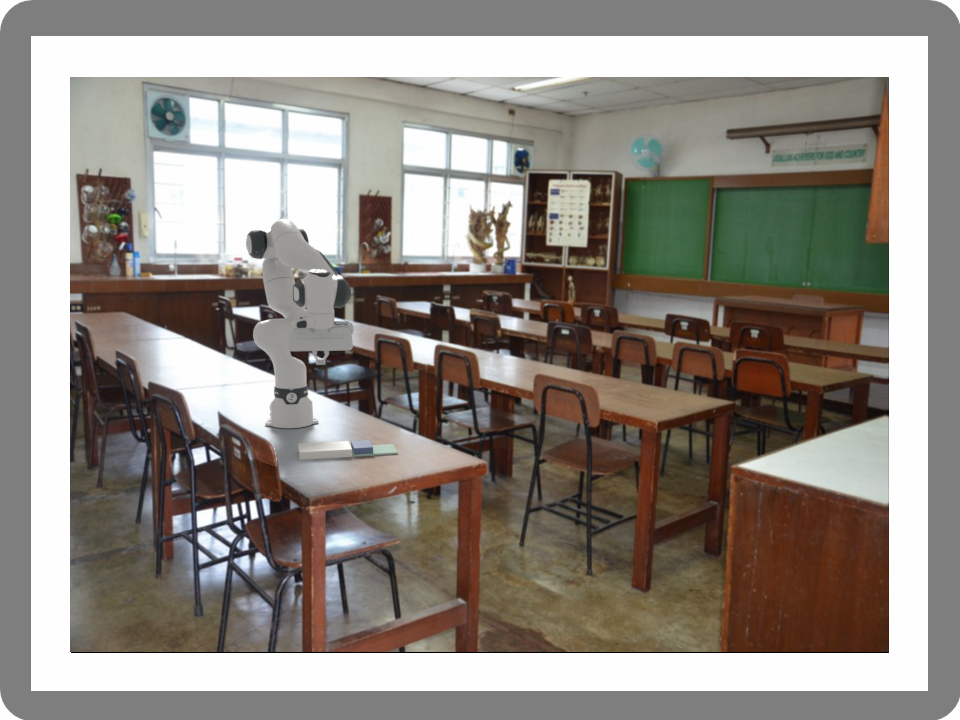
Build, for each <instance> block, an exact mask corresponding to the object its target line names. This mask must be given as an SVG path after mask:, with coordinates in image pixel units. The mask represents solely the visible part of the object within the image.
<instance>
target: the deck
mask: <svg viewBox="0 0 960 720" xmlns="http://www.w3.org/2000/svg"><path fill="white" fill-rule="evenodd" d="M297 446H298V458H299V461H305V460H308V461H309V460H319V459H320V460H324V459H340V458H341V459H342V458H352V457H353V454H352V448H351V442H350V441H349V440H341V441H323V442H305V443H298V445H297Z"/></svg>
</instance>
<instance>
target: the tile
mask: <svg viewBox="0 0 960 720" xmlns="http://www.w3.org/2000/svg"><path fill="white" fill-rule="evenodd" d="M372 445H373V444H372V442H371V440H370V439H363V440H362V439H361V440H350V446H351V448H352V451H353V453H354V454H370V453H373V446H372Z"/></svg>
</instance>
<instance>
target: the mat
mask: <svg viewBox="0 0 960 720" xmlns="http://www.w3.org/2000/svg"><path fill="white" fill-rule="evenodd" d="M372 446H373V453H370V454H354V453H353V451H352V457H353V458H355V457H356V458H357V457H375V456H376V457H377V456H390V455H391V456H392V455H398V454H399V452H398V450H397V449H396V447H395V445H394V444H393V443H390V444H389V443H388V444H372Z"/></svg>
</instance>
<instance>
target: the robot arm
mask: <svg viewBox="0 0 960 720" xmlns="http://www.w3.org/2000/svg"><path fill="white" fill-rule="evenodd" d="M308 237H309V236H308V233H307V232H306V231H305V229H303V228H300V227H298V226H297V225H296V224H295V223H294V222H293V221H290V220H288V219H279V220H277V221H275V222H274V223H273V224H271V226H270V228H262V229H260V228H258V229H257V228H256V229H253V230H251V231H249V232H248V233H247V235H246V239H245V240H246V241H245V246H246V250H247V252H248V255H249V256H250V257H251V258H253V259H256V260H257V259H258V260H262V259H264V260H263V262H262V282H263V286H264V292H265V297H266V302H267V305H268V306H269V308H270V309H271V310H272V311H274V312H276V313H279V314H280V315H282V317H283V318H269V319H266V320H261V321H258V322H257V323H256V325H254V328H253V333H252V337H253V341H254V343H255V345H256V346H257V347H258V348H259V349H261V350H262V351H263V352H264V353H265V354H266V355H268V357H269V358H270V361H271V362H272V365H273V371H274V382H275V384H274V385H275V386H274V387H273V393H274V395H273V396H274V399H273V400H272V401H271V402H270V404H269V411H270V413H269V418H268V419H267V420H266V421H265V424H264V425H265V427H266V426H267V427H274V428H279V429H299V428H305V427H309V426H311V425H315V424H318V423H319V420H318V418H316V417H315V416H314V411H313V410H314V409H313V407H314V406H313V401H312V400H311V399H310V398H309V387H308V386H309V385H308V384H307V366H306V364H305V362H304V361H303V360H301V359H299V358H296V357H294V356H292V354H291V353H292V352H312V356H313V357H314V359H315V365H316V366H320V365H322V366H325V365H326V360H327V358H328V357H329V355H330V352H333V351H334V352H335V351H336V352H337V351H338V352H339V351H351V350H352V349H353V348H354V343H353V336H352V335H353V334H354V325H353V323H351V322H349V321H348V320H344V321H343V320H342V321H338V320H336V321H335V309H342V308H343V307H345V306H346V305H347V304H348V303H349V302H350V300H351V297H352V291H351V290H352V289H351V286H350V284H349V282H348V281H347V280H346V279H345V278H344V277H343V276H342V275H340V274H339V272H338V271H337V270H336V269H335V267H334V266H333V264H331V262H330V261H329V260H328V258H327V257H326V255H325V254H323V253H322V252H321V251H320V250H318V249H316V247H315V248H314V247H313V246H312V245H310V243H309V238H308ZM292 269H295V270H300V271H301V270H302V271H307V273H306V276H305V277H303V278H299V279H298V280H296V281H295V277H294V274H293V270H292ZM318 352H323V353H324V356H323V358H321V357H320V358H318V356H317V354H318Z"/></svg>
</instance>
